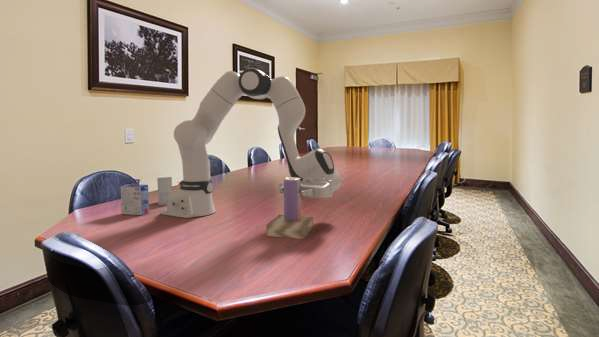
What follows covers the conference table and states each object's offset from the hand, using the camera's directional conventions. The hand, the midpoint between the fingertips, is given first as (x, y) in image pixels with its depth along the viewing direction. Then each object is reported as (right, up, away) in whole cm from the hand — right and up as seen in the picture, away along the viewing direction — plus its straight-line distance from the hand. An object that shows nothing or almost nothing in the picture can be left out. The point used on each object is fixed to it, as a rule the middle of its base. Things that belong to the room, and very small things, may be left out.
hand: (290, 192), depth 125 cm
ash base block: (0, -14, +2) cm, 14 cm away
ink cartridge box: (-66, -11, +28) cm, 73 cm away
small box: (-61, -8, +47) cm, 77 cm away
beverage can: (+1, -10, +1) cm, 10 cm away
